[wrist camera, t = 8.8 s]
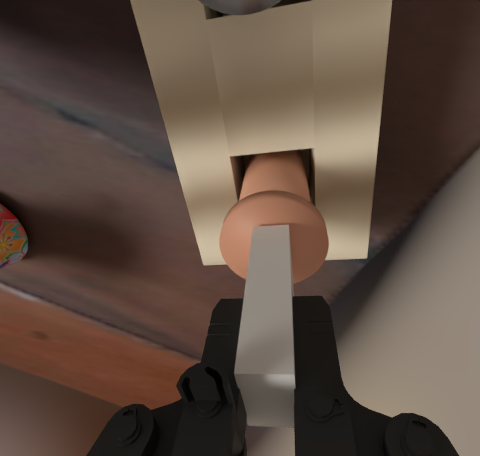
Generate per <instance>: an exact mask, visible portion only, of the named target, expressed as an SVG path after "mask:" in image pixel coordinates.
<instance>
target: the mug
mask: <svg viewBox="0 0 480 456" xmlns="http://www.w3.org/2000/svg"><path fill="white" fill-rule="evenodd" d="M27 250H28V239H27V235H26V232H25V230H24V228H23V226H22V225H21V223H20V222H19V221H18V219H17V218H16V217H15V216H14V215H13V214H12V213H11V212H10V211H9V210H8V209H7V208H5V207H4V206H3V205H2V204H0V268H2V267H4V266H7V265H10V264H14V263H16V262H18V261H20V260H21V259H22V258H23V257H24V256H25V254H26V252H27Z"/></svg>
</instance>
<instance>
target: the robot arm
mask: <svg viewBox="0 0 480 456" xmlns="http://www.w3.org/2000/svg"><path fill="white" fill-rule="evenodd" d="M176 386H177V388H178V391H179V393H180V395H181V397H182V399H180V400H178V401H176V402H174V403H172V404H169V405H165V406H162V407H159V408H156V409H153V410H150V409H149V408H147V407H146V406H144V405H143V404H132V405H129V406H126V407H124V408H122V409H121V410H119V411H118V412H116V413H115V414H114V415H113V417H112V418H111V419H110V420H109V421H108V423H107V425H106V426H105V428H104V429H103V431H102V432H101V434H100V435H99V437H98V438H97V440H96V442H95V443H94V445H93V446H92V448H91V450H90V451H89V453H88V454H87V456H247V445H246V438H245V431H246V419H247V423H248V425H249V426H271V427H291V428H295V429H294V430H295V456H459V455H458V453H457V452H456V450H455V448H454V447H453V445H452V444H451V442H450V440H449V439H448V437H447V436H446V435H445V434H444V433H443V432H442V430H441V429H440V428H439V427H438V426H437V425H436V424H434V423H433V422H431V421H430V420H429V419H427V418H425V417H423V416H419V415H417V414H414V413H401V414H399V415H397V416H395V417H393V418H391V417H389V416H386V415H383V414H381V413H378V412H375V411H372V410H370V409H368V408H366V407H364V406H362V405H360V404H359V403H358V402H356V401H355V400H354V399H353V398H352V397H351V396H350V395H349V394H348V392H347V391H346V389H345V387H344V385H343V381H342V378H341V372H340V366H339V360H338V354H337V348H336V341H335V336H334V329H333V324H332V318H331V311H330V307H329V305H328V304H327V303H326V301H325V300H324V298H323V297H322V296H293V273H292V260H291V246H290V232H289V224H288V225H272V226H256V227H253V231H252V239H251V246H250V254H249V262H248V270H247V277H246V285H245V293H244V298H242V299H221V300H220V301H219V302H218V304H217V305H216V307H215V308H214V309H213V312H212V316H211V321H210V326H209V329H208V336H207V338H206V343H205V347H204V351H203V356H202V360H201V363H197V364H195V365H194V366H192V367H190V368H188V369H187V370H186V371H185V372H184V373H183V374H182V375H181V377H180V379H179V381H178V383H177V385H176Z"/></svg>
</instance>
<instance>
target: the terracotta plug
mask: <svg viewBox="0 0 480 456" xmlns="http://www.w3.org/2000/svg"><path fill="white" fill-rule="evenodd" d="M288 224H289V232H290V246H291V260H292V273H293V284H294V283H297V282H300V281H302V280H304V279H306V278H308V277H310V276H311V275H312V274H314V273H315V272H316V271H317V270H318V269H319V268H320V267H321V265H322V264H323V262H324V261H325V259H326V256H327V253H328V248H329V239H328V234H327V229H326V225H325V221H324V219H323V217H322V215H321V213H320V212H319V211H318V209H317V208H316V207H315V206H314V205H313V204H312V203H311V202H310V195H309V189H308V182H307V176H306V170H305V163H304V158H303V155H302V153H301V151H300V150H299V149H298V150H288V151H279V152H269V153H259V154H250V155H249V158H248V162H247V167H246V171H245V176H244V181H243V185H242V190H241V194H240V199H239V201H238V202H237V203H236V204H235V205H234V206H233V207H232V208H231V209H230V210H229V212H228V213H227V215H226V217H225V219H224V222H223V225H222V229H221V233H220V238H219V246H220V251H221V254H222V257H223V259H224V261H225V262H226V264H227V265H228V266H229V267H230V268H231V270H233V271H234V272H235V273H236V274H237V275H239V276H240V277H242V278H244V279H246V277H247V270H248V262H249V254H250V246H251V239H252V231H253V227H256V226H272V225H288Z"/></svg>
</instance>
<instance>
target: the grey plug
mask: <svg viewBox="0 0 480 456" xmlns="http://www.w3.org/2000/svg"><path fill="white" fill-rule="evenodd" d="M198 1H200V2H201V3H202V4H204V5H206V6H207V7H209V8H211V9H213V10H216V11H218V12H221V13H225V14H230V15H248V14H254V13H258V12H261V11H264V10H266V9H268V8H270V7H272V6H274V5H275V4H277V3H279V2H280V1H281V0H198Z"/></svg>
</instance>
